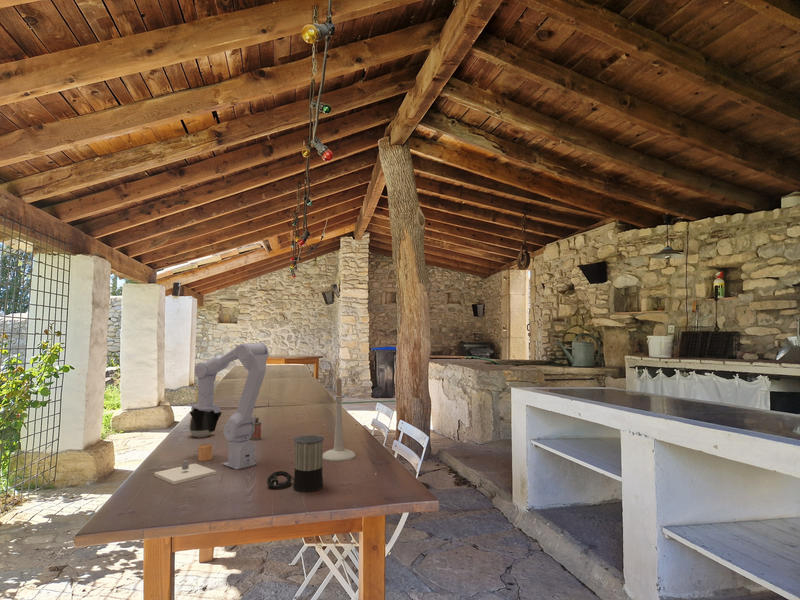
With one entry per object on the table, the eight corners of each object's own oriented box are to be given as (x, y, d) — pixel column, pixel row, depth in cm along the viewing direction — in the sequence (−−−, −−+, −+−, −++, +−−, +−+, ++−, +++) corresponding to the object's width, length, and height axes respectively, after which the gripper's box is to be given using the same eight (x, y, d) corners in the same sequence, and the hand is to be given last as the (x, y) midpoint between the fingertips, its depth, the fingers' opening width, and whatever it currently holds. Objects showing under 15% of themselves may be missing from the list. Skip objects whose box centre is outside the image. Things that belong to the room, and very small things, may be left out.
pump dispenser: (209, 432, 222) (210, 399, 223) (216, 436, 214) (217, 402, 215) (186, 436, 216) (187, 402, 217) (193, 440, 208) (194, 404, 209)
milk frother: (328, 489, 145) (328, 439, 145) (276, 498, 137) (276, 446, 138) (312, 476, 157) (312, 431, 158) (264, 484, 149) (264, 436, 150)
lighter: (262, 438, 210) (262, 415, 211) (259, 440, 207) (259, 417, 208) (244, 438, 211) (245, 415, 212) (241, 440, 208) (241, 417, 208)
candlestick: (339, 450, 190) (339, 375, 192) (362, 456, 182) (362, 377, 184) (314, 457, 180) (315, 377, 182) (337, 463, 172) (338, 379, 174)
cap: (214, 458, 178) (214, 445, 178) (202, 461, 175) (202, 447, 175) (207, 456, 181) (208, 443, 181) (196, 459, 178) (196, 445, 178)
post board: (215, 474, 160) (216, 459, 160) (173, 484, 149) (174, 468, 149) (195, 466, 169) (195, 452, 169) (154, 475, 158) (154, 461, 158)
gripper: (227, 394, 181) (226, 430, 180) (202, 391, 188) (202, 426, 187) (211, 396, 175) (210, 434, 174) (186, 393, 182) (186, 429, 181)
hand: (205, 430), depth 180 cm, fingers open, 7 cm apart
